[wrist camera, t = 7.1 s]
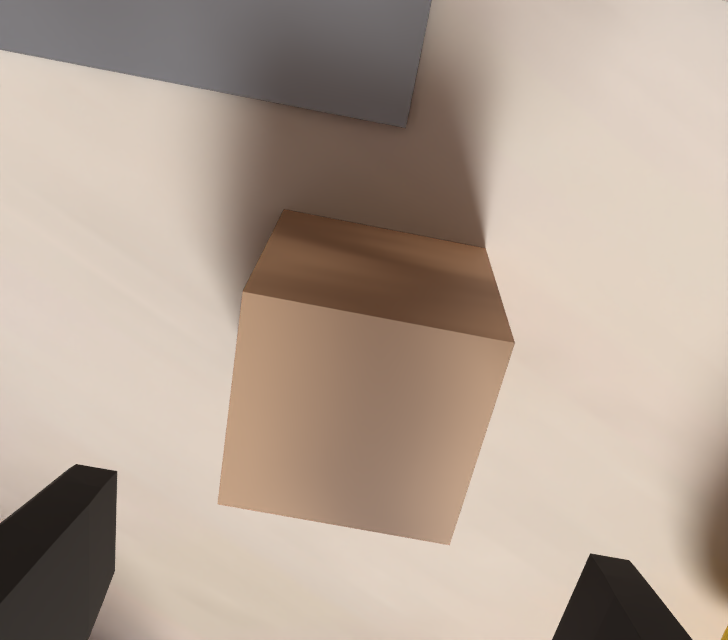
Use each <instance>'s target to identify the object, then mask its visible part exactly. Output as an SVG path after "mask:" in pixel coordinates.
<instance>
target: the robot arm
mask: <svg viewBox="0 0 728 640" xmlns="http://www.w3.org/2000/svg"><path fill="white" fill-rule="evenodd" d="M116 498H117V471H113V470H107V469H101V468H95V467H90V466H84V465H78V464H76V465H74V466H73V467H71V468H69V469H68V470H67V471H65V472H64V473H63V474H62V475H60V476H59V477H58V478H57V479H55V480H54V481H53V482H52V483H50V484H49V485H48V486H47V487H45V488H44V489H43V490H42V491H41V492H39V493H38V494H37V495H36V496H34V497H33V498H32V499H31V500H29V501H28V502H27V503H26V504H24V505H23V506H22V507H20V508H19V509H18V510H17V511H15V512H14V513H13V514H12V515H10V516H9V517H8V518H6V519H5V520H4V521H3V522H1V523H0V640H88V638H89V636H90V633H91V631H92V628H93V626H94V623H95V621H96V618H97V616H98V613H99V611H100V608H101V606H102V603H103V601H104V598H105V595H106V593H107V590H108V587H109V585H110V582H111V580H112V577H113V574H114V572H115V540H116ZM552 640H692V639H691V637H690V636H689V635H688V633H687V632H686V631H685V630H684V628H683V627H682V626H681V625H680V623H679V622H678V621H677V619H676V618H675V617H674V616H673V614H672V613H671V612H670V611H669V609H668V608H667V607H666V605H665V604H664V603H663V602H662V600H661V599H660V598H659V596H658V595H657V594H656V593H655V591H654V590H653V589H652V588H651V586H650V585H649V584H648V582H647V581H646V580H645V579H644V577H643V576H642V575H641V574H640V573H639V571H638V570H637V569H636V568H635V566H634V565H633V564H632V563H631V562H630V561H629V560H624V559H619V558H613V557H607V556H601V555H596V554H590V555H589V557H588V560H587V562H586V564H585V567H584V569H583V571H582V573H581V576H580V578H579V580H578V582H577V585H576V587H575V589H574V591H573V594H572V596H571V598H570V600H569V603H568V605H567V607H566V609H565V612H564V614H563V616H562V618H561V621H560V623H559V625H558V628H557V630H556V632H555V634H554V637H553V639H552Z"/></svg>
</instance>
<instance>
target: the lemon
mask: <svg viewBox="0 0 728 640" xmlns="http://www.w3.org/2000/svg"><path fill="white" fill-rule="evenodd" d="M721 640H728V626H727V628H726V630H725V632H724V634H723V636H722V638H721Z"/></svg>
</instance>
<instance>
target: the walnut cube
mask: <svg viewBox="0 0 728 640" xmlns="http://www.w3.org/2000/svg"><path fill="white" fill-rule="evenodd" d="M514 344H515V342H514V339H513V336H512V332H511V329H510V326H509V323H508V319H507V316H506V313H505V310H504V307H503V303H502V300H501V297H500V294H499V290H498V287H497V284H496V281H495V277H494V274H493V271H492V268H491V265H490V261H489V258H488V255H487V252H486V248H482V247H477V246H472V245H466V244H461V243H456V242H451V241H446V240H441V239H435V238H430V237H425V236H420V235H415V234H410V233H404V232H399V231H394V230H389V229H384V228H379V227H373V226H368V225H363V224H358V223H353V222H348V221H342V220H337V219H332V218H327V217H322V216H317V215H311V214H306V213H301V212H296V211H291V210H285V209H284V210H283V212H282V214H281V216H280V218H279V220H278V222H277V224H276V226H275V228H274V230H273V232H272V234H271V236H270V238H269V240H268V242H267V244H266V246H265V248H264V250H263V252H262V254H261V256H260V258H259V260H258V262H257V264H256V266H255V268H254V270H253V272H252V274H251V276H250V278H249V280H248V282H247V284H246V286H245V288H244V290H243V293H242V301H241V310H240V318H239V327H238V335H237V344H236V352H235V360H234V369H233V377H232V386H231V394H230V403H229V411H228V420H227V428H226V437H225V445H224V454H223V462H222V471H221V479H220V488H219V496H218V504H219V505H225V506H231V507H236V508H242V509H248V510H253V511H259V512H265V513H270V514H276V515H282V516H287V517H293V518H299V519H304V520H310V521H316V522H321V523H327V524H333V525H338V526H344V527H350V528H355V529H361V530H367V531H372V532H378V533H384V534H389V535H395V536H401V537H406V538H412V539H418V540H423V541H429V542H435V543H440V544H446V545H450V542H451V539H452V536H453V533H454V530H455V526H456V523H457V520H458V517H459V514H460V511H461V508H462V505H463V502H464V499H465V496H466V492H467V489H468V486H469V483H470V480H471V477H472V474H473V471H474V468H475V465H476V462H477V458H478V455H479V452H480V449H481V446H482V443H483V440H484V437H485V434H486V431H487V428H488V424H489V421H490V418H491V415H492V412H493V409H494V406H495V403H496V400H497V397H498V394H499V390H500V387H501V384H502V381H503V378H504V375H505V372H506V369H507V366H508V363H509V360H510V356H511V353H512V350H513V347H514Z"/></svg>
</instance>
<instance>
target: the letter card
mask: <svg viewBox="0 0 728 640" xmlns="http://www.w3.org/2000/svg"><path fill="white" fill-rule="evenodd" d="M431 1H432V0H0V50H5V51H10V52H15V53H20V54H25V55H31V56H36V57H41V58H46V59H51V60H56V61H62V62H67V63H72V64H77V65H82V66H87V67H93V68H98V69H103V70H108V71H113V72H119V73H124V74H129V75H134V76H139V77H144V78H150V79H155V80H160V81H165V82H170V83H175V84H181V85H186V86H191V87H196V88H201V89H206V90H212V91H217V92H222V93H227V94H232V95H238V96H243V97H248V98H253V99H258V100H263V101H269V102H274V103H279V104H284V105H289V106H294V107H300V108H305V109H310V110H315V111H320V112H325V113H331V114H336V115H341V116H346V117H351V118H357V119H362V120H367V121H372V122H377V123H382V124H388V125H393V126H398V127H403V128H406V124H407V119H408V114H409V109H410V104H411V100H412V95H413V90H414V85H415V80H416V75H417V70H418V65H419V60H420V55H421V50H422V45H423V41H424V36H425V31H426V26H427V21H428V16H429V11H430V6H431Z"/></svg>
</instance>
